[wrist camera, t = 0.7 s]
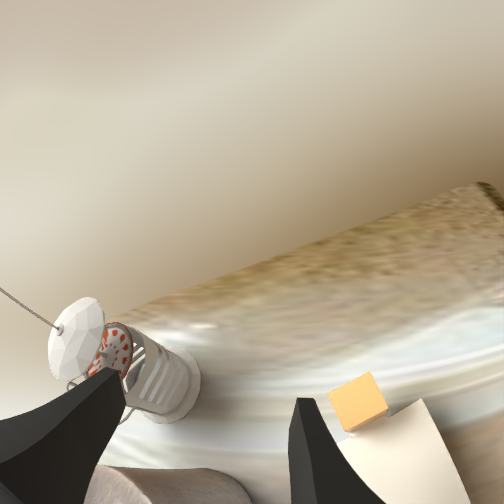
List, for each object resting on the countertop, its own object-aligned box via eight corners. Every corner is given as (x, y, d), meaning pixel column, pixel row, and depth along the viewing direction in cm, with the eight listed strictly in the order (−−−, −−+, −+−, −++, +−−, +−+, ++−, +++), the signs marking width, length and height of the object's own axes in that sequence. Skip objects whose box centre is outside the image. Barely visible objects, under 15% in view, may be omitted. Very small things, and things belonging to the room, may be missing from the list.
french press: (209, 348, 32) (22, 190, 14) (188, 447, 25) (-61, 362, 7) (145, 342, 36) (-15, 219, 18) (123, 426, 29) (-69, 337, 11)
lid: (472, 512, 10) (491, 523, 6) (365, 565, 10) (362, 588, 7) (401, 366, 20) (406, 349, 16) (302, 417, 20) (287, 411, 17)
